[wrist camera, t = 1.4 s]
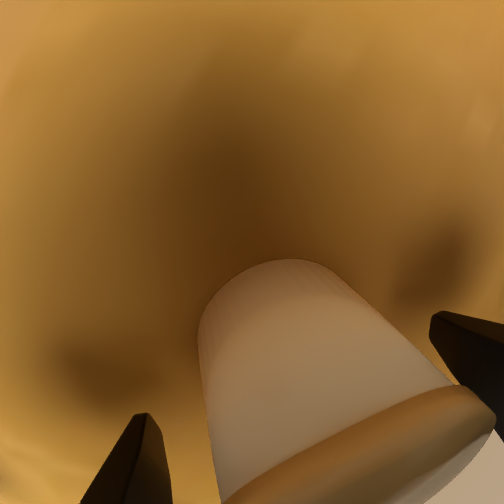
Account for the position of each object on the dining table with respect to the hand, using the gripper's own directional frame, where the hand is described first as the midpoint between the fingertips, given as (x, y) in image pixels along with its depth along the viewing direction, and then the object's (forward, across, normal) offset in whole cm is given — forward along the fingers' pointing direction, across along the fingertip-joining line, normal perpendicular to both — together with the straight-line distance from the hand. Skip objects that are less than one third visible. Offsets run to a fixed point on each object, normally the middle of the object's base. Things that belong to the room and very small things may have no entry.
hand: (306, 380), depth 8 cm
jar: (+2, 0, 0) cm, 2 cm away
